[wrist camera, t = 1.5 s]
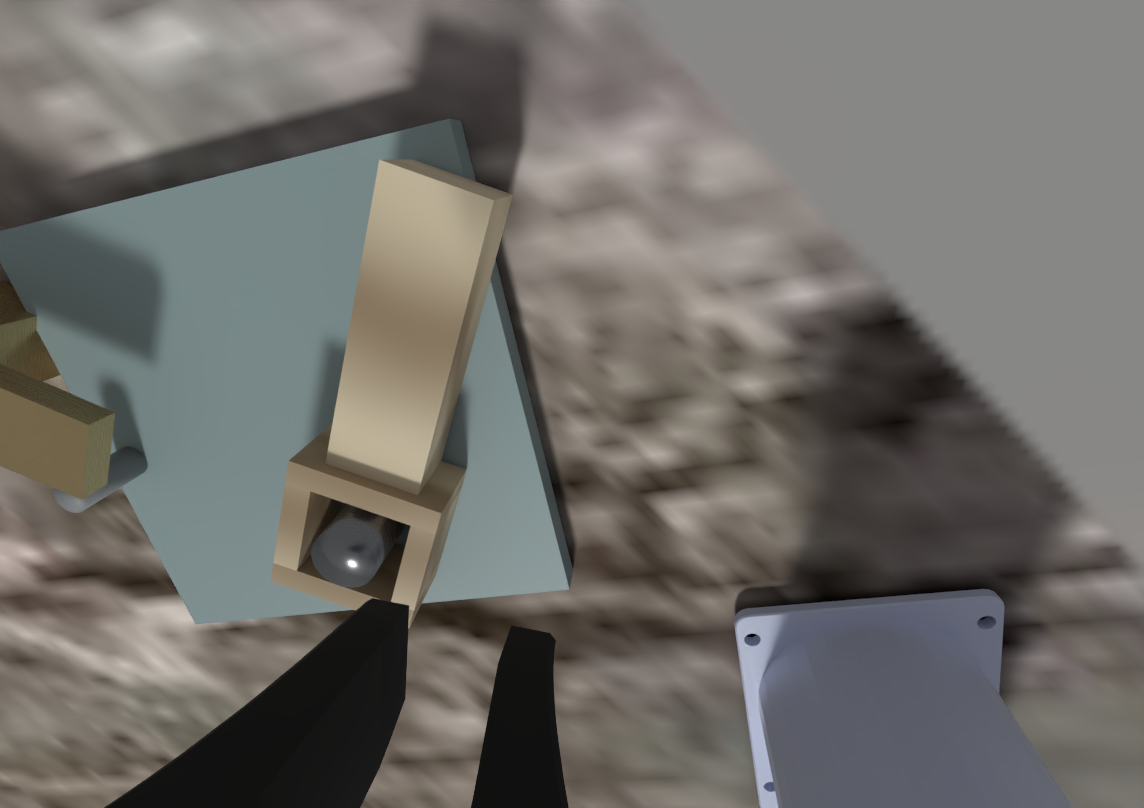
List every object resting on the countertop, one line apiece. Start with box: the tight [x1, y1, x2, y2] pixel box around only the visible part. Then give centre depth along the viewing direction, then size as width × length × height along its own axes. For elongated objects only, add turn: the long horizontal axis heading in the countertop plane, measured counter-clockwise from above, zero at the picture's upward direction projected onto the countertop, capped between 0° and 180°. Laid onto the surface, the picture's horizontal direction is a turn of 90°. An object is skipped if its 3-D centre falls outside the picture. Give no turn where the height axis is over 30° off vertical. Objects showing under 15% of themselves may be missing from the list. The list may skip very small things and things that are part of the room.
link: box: [271, 159, 513, 628], centre depth 16 cm, size 12×4×2 cm, turn 162°
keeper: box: [0, 281, 115, 499], centre depth 17 cm, size 7×2×4 cm, turn 67°
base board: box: [0, 118, 573, 624], centre depth 17 cm, size 14×14×3 cm
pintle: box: [311, 504, 407, 588], centre depth 18 cm, size 2×2×4 cm
